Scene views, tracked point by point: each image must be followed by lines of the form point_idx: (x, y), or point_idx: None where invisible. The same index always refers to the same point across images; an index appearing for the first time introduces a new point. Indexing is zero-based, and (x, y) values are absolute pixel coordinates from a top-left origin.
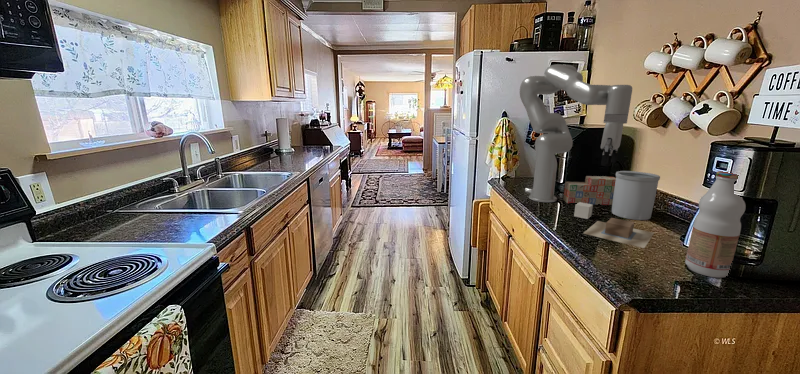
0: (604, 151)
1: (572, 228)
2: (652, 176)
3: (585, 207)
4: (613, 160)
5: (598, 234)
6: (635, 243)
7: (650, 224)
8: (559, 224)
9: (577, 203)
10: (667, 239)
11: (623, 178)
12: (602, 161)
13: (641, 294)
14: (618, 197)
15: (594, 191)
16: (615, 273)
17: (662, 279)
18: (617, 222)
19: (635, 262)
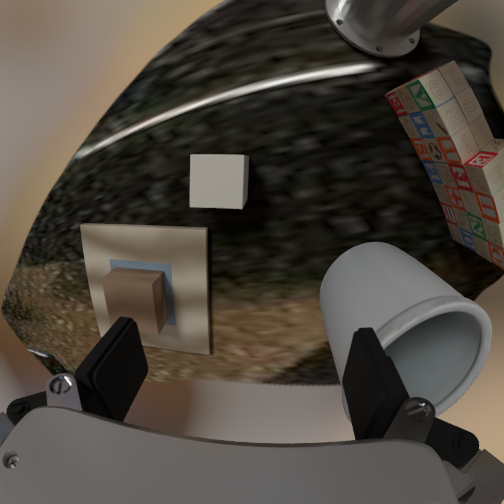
0: (19, 402)
1: (114, 185)
2: (443, 400)
3: (191, 193)
4: (347, 381)
5: (98, 256)
6: (109, 324)
7: (303, 340)
8: (120, 145)
9: (213, 155)
10: (205, 369)
11: None
12: (108, 340)
13: (7, 321)
14: (350, 286)
15: (454, 179)
16: (16, 297)
17: (44, 344)
18: (122, 301)
19: (56, 320)
